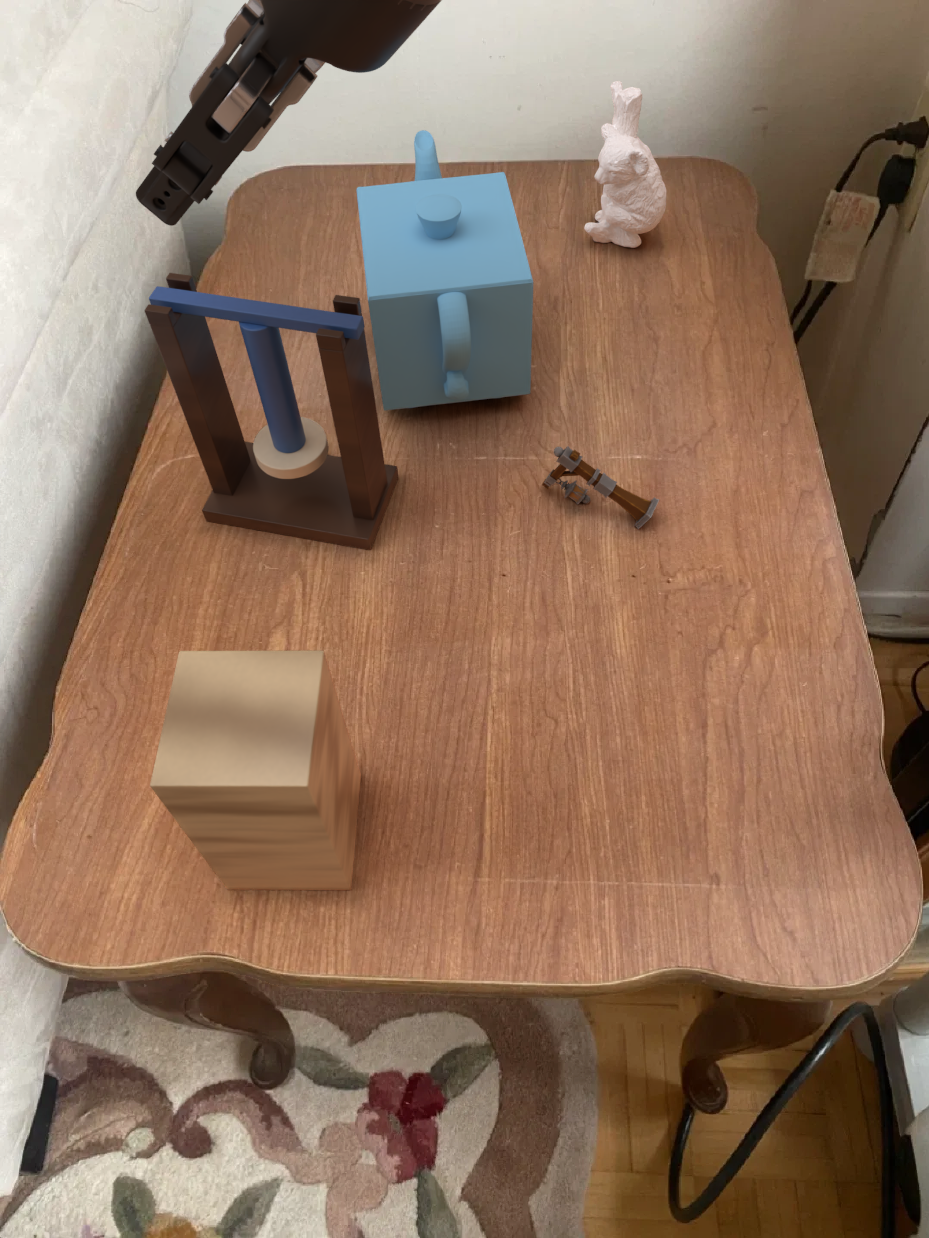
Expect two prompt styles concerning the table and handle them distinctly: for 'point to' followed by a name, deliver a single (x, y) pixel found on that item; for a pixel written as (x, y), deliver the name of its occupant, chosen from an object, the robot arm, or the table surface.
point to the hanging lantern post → (596, 485)
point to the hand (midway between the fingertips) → (190, 160)
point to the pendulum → (271, 371)
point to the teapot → (446, 286)
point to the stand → (241, 491)
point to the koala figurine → (626, 177)
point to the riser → (261, 768)
